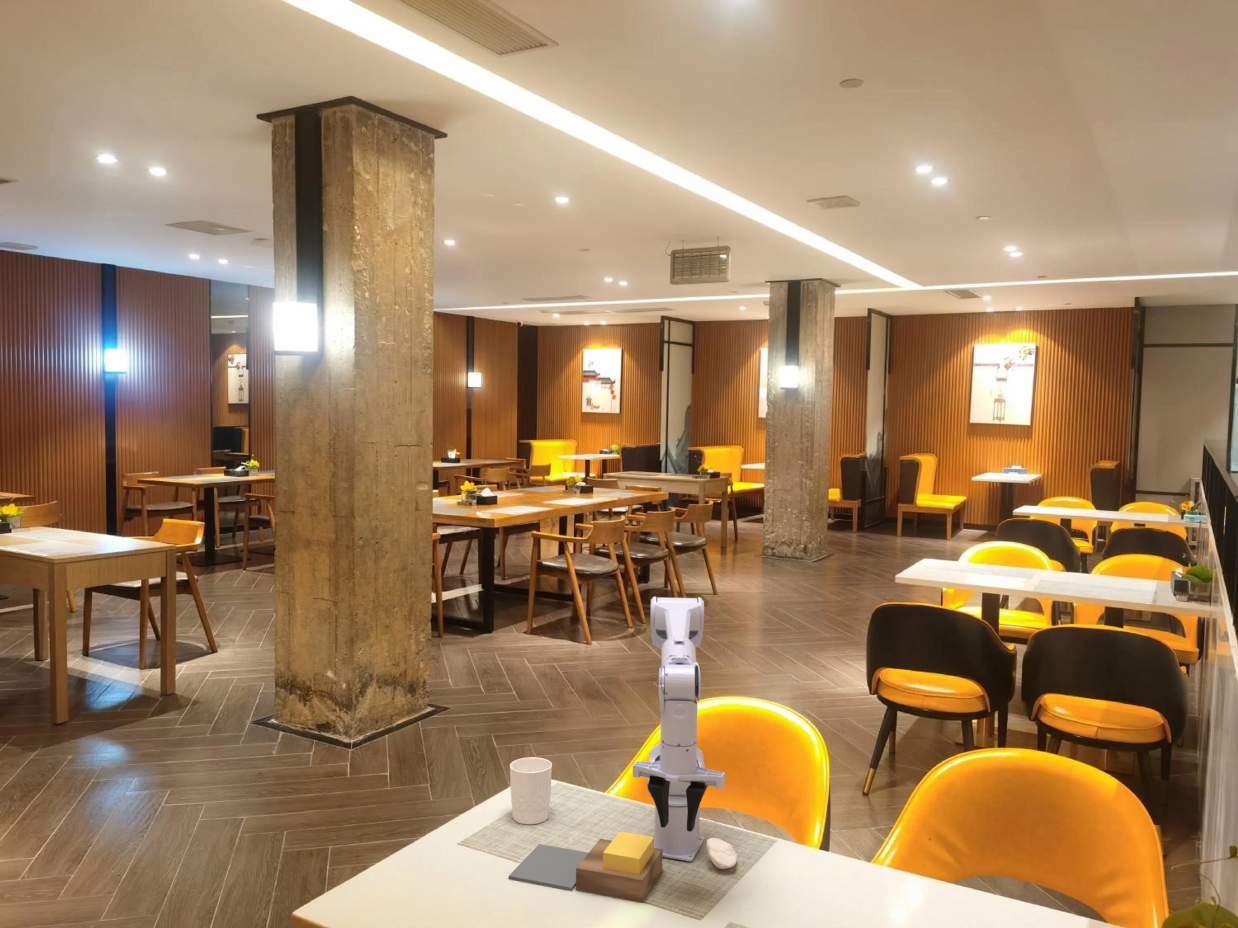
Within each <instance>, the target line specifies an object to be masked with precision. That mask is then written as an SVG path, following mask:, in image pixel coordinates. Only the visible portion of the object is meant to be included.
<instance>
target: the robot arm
mask: <svg viewBox="0 0 1238 928" xmlns="http://www.w3.org/2000/svg"><path fill="white" fill-rule="evenodd" d="M649 621H650V624H649V625H650V627H649V628H650V639H651V640H652V645H653V646H655V647H656V648H658V649H660V650H661V653H660V654H661V659H660V660H661V662H660V663H661V665H660V666H661V667H659V669H658V700H659V711H660V712H659V713H660V742H659V743H657V744H655V746H653V747H652V748H651V749H650V752H649V753H648V754H649V756H648V761H638V760H637V761H635V763H634V764H632V777H633V778H640V777H643V778H647V786H646V787H647V794H648V795H650V797H652V800H653V802H654V848H658V849H663V850H662V858H665V859H666V858H667V859H672V860H679V861H683V862H684V861H686V862H692V861H693V860H694V859H695V856H696V855H697V853H698V852H699V850H700V849H701V846H702V844H703V843H704V840H705V835H701V834H700V816H701V815H700V811H701V809H700V804H701V802H702V799H703V797H704V795H705V793H706V790H707V789H708V787H714V788H716V789H719V790H720V789H721V790H722V789H723V788H724V787H725V785H726V784H725V783H726V782H725V781H726V778H725V777H726V773H725V771H724V772H723V771H722V772H721V771H717V770H714V769H713V770H712V769H709V768H706V766H705V763H704V761H705V760H704V759H705V758H704V756H705V755H704V753H703V751H702V750H701V749H700V748H699V747H698V703H699V702H700V699H701V689H702V688H701V686H702V685H701V684H702V683H701V682H702V680H701V679H702V678H701V677H702V676H701V668H700V665H699V662H697V654H696V653H697V652H696V648H698V647H700V646H701V644H702V641H703V635H704V634H703V633H704V629H705V627H704V626H705V602H704V600H703V599H702V597H700V596H698V597H657V596H653V597H652V598H651V599H650V620H649ZM695 697H696V698H695ZM696 699H697V700H696Z"/></svg>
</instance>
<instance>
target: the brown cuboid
mask: <svg viewBox="0 0 1238 928" xmlns="http://www.w3.org/2000/svg"><path fill="white" fill-rule="evenodd" d="M612 841H613V840H610V839H604V838H599V839H598V841H597V842H596V843H595V844H594V846H593V847H592V848H591V850H589V852H588V854H587V855H586V857H585V858H584V859H583V860H582V862H581V863H580V864H579V865H578V866H577V868H576V886H575V891H580V892H586V893H589V894H595V895H600V896H601V895H602V896H604V897H605V896H606V897H610V896H611V897H612V898H615V897H616V898H617V899H621V898H622V900H627V901H632V902H637V903H644V901H645V900H646V897H647V896H648V894H649V892H650V891H651V889H652V887H653V886H654V884H655V882H656V881H657V879H658V878H659V876H660V874H661V873H662V871H663V857H662V850H663V849H658V848H654V853H653V855H652V856H651V858H650V859H649V861H648V862H647V864H646V865H645V867H644V868H643V870H642V871H641V873H640V874H639V875H638V874H633V873H627V872H622V871H616V870H610V869H605V868H603V852H604V851H605V850H606V848H607V847H608V846H609V845H610V843H611V842H612ZM649 890H650V891H649ZM646 895H647V896H646ZM611 897H610V898H611Z"/></svg>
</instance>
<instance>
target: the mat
mask: <svg viewBox="0 0 1238 928" xmlns="http://www.w3.org/2000/svg"><path fill="white" fill-rule="evenodd" d="M588 853H589V852H587V851H582V850H581V851H580V850H575V849H571V848H564V847H559V846H553V845H546V844H541V843H539V844H538V845H536V847H535V848H533V850H532V851H531V852H530V853H529V854H528V855H527V856H526V857H525V858H524V859H523V860H522V861H521V862H520V863H519V865H518V866H517V867H516V868H515V869H513V870H512V872H511V873H510V874H509V875H508V880H513V881H518V882H523V883H528V884H534V885H538V886H544V887H548V888H549V887H550V888H554V889H559V890H564V891H570V892H572V891H573V890H574V889H575V888H576V868H577V866H578V865H579V864H580V863H581V862H582V860H583V859H584V858H585V857H586V855H587V854H588Z"/></svg>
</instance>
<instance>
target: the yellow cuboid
mask: <svg viewBox="0 0 1238 928" xmlns="http://www.w3.org/2000/svg"><path fill="white" fill-rule="evenodd" d="M654 840H655V836H651V835H650V836H649V835H642V834H636V833H631V832H625V831H619V832H618V833H617V834H616V836H615V837H614V838H613V839H612V840H611V841H612V842H611V843H610V845H609V846H608V847H607V848H606V850H605V851H604V852H603V868H605V869H610V870H616V871H622V872H627V873H633V874H638V875H639V874H640V873H641V871H642V870H643V868H644V867H645V865H646V864H647V862H648V861H649V859H650V858H651V856H652V855H653V853H654Z"/></svg>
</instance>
